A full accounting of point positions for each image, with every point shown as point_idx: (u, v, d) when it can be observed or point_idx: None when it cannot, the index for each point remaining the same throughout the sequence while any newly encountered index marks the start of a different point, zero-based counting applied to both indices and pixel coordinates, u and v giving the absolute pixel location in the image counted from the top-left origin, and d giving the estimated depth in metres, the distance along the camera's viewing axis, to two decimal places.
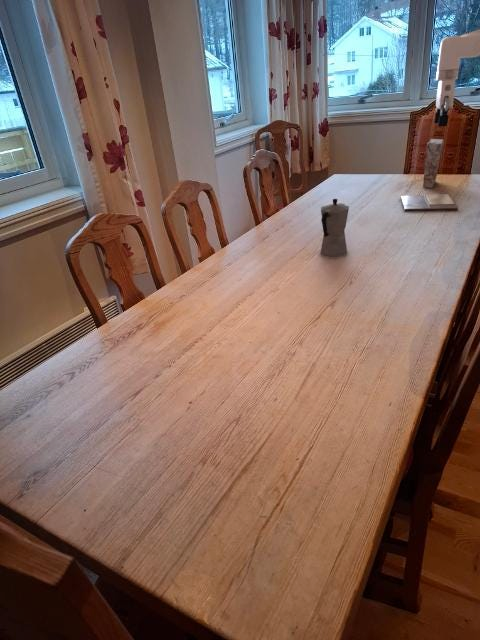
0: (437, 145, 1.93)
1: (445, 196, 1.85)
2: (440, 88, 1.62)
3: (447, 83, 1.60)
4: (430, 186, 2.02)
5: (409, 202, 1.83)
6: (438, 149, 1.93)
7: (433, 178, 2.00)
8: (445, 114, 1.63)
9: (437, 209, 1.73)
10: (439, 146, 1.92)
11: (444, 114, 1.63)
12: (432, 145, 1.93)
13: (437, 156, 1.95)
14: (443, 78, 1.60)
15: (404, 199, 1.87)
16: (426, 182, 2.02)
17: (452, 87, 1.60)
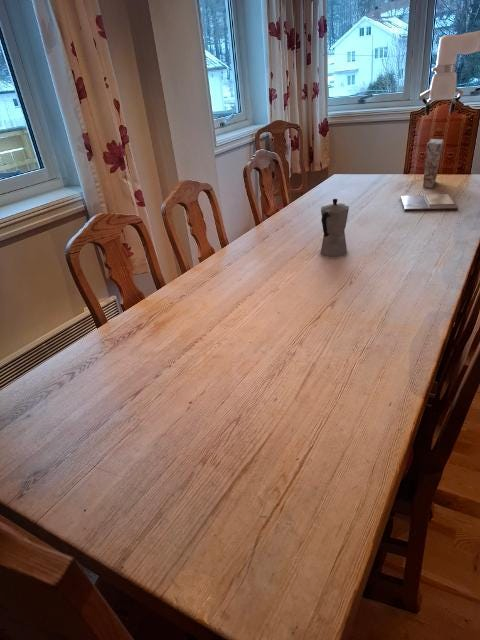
0: (437, 145, 1.93)
1: (445, 196, 1.85)
2: None
3: (432, 77, 1.84)
4: (430, 186, 2.02)
5: (409, 202, 1.83)
6: (438, 149, 1.93)
7: (433, 178, 2.00)
8: (425, 104, 1.89)
9: (437, 209, 1.73)
10: (439, 146, 1.92)
11: (425, 104, 1.90)
12: (432, 145, 1.93)
13: (437, 156, 1.95)
14: None
15: (404, 199, 1.87)
16: (426, 182, 2.02)
17: (432, 81, 1.83)
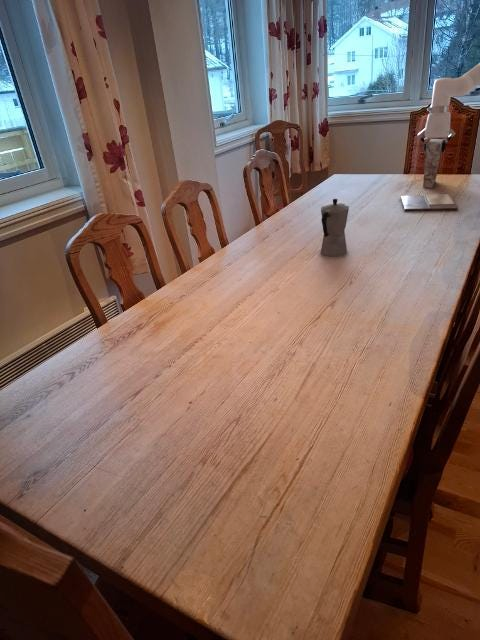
0: (437, 145, 1.93)
1: (445, 196, 1.85)
2: None
3: None
4: (430, 186, 2.02)
5: (409, 202, 1.83)
6: (438, 149, 1.93)
7: (433, 178, 2.00)
8: None
9: (437, 209, 1.73)
10: (439, 146, 1.92)
11: (423, 142, 1.99)
12: (432, 145, 1.94)
13: (437, 156, 1.95)
14: None
15: (404, 199, 1.87)
16: (426, 182, 2.02)
17: (427, 120, 1.93)
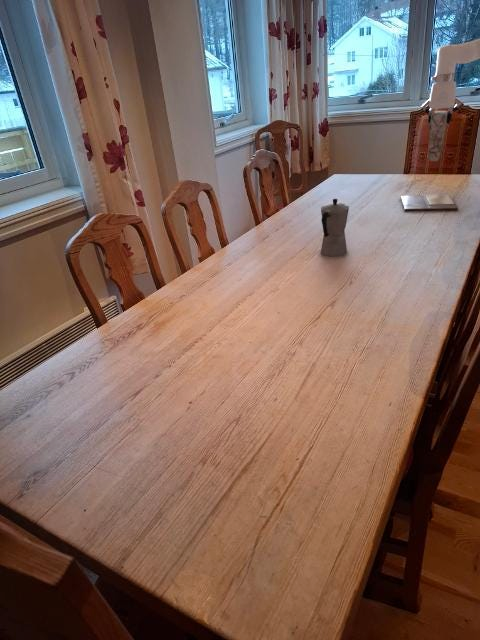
0: (442, 116, 1.86)
1: (445, 196, 1.85)
2: None
3: (432, 86, 1.87)
4: (435, 159, 1.95)
5: (409, 202, 1.83)
6: (443, 120, 1.86)
7: (438, 151, 1.93)
8: (428, 114, 1.92)
9: (437, 209, 1.73)
10: (444, 116, 1.86)
11: None
12: (436, 116, 1.87)
13: (442, 127, 1.88)
14: None
15: (404, 199, 1.87)
16: (431, 156, 1.95)
17: (431, 90, 1.86)
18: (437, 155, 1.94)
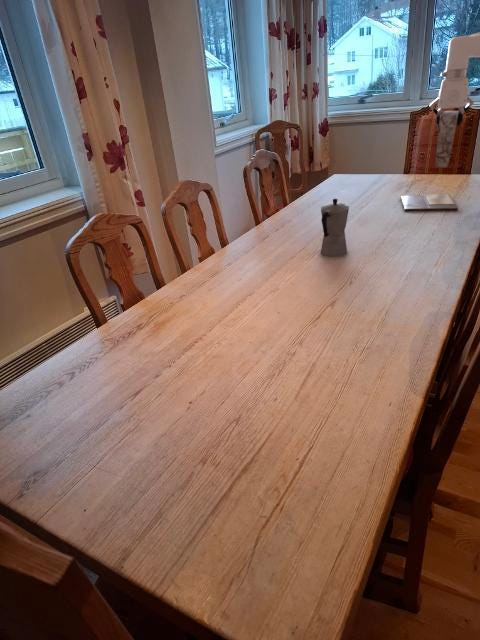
0: (452, 116, 1.65)
1: (445, 196, 1.85)
2: None
3: (441, 83, 1.66)
4: (444, 165, 1.75)
5: (409, 202, 1.83)
6: (453, 121, 1.66)
7: (447, 156, 1.72)
8: None
9: (437, 209, 1.73)
10: (454, 117, 1.65)
11: (436, 114, 1.72)
12: (446, 117, 1.66)
13: (452, 129, 1.67)
14: None
15: (404, 199, 1.87)
16: (439, 161, 1.75)
17: (441, 87, 1.65)
18: (446, 160, 1.73)
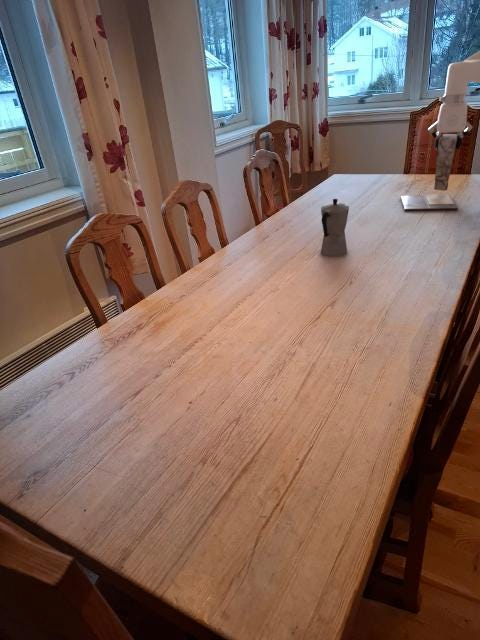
0: (451, 141, 1.65)
1: (445, 196, 1.85)
2: None
3: (440, 107, 1.66)
4: (442, 188, 1.75)
5: (409, 202, 1.83)
6: (452, 145, 1.66)
7: (446, 179, 1.72)
8: (435, 138, 1.71)
9: (437, 209, 1.73)
10: (453, 142, 1.65)
11: (435, 138, 1.72)
12: (445, 141, 1.66)
13: (451, 154, 1.67)
14: None
15: (404, 199, 1.87)
16: (438, 184, 1.75)
17: (440, 112, 1.65)
18: (445, 184, 1.73)
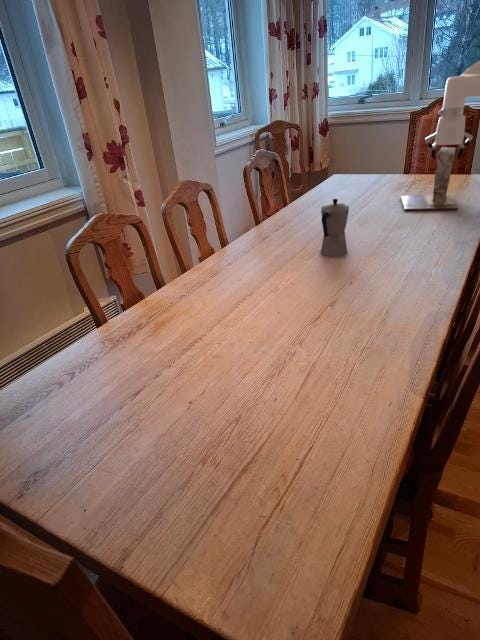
0: (449, 155, 1.68)
1: None
2: None
3: None
4: (441, 201, 1.77)
5: (409, 202, 1.83)
6: (450, 159, 1.68)
7: (444, 192, 1.75)
8: None
9: (437, 209, 1.73)
10: (452, 156, 1.67)
11: None
12: (443, 155, 1.69)
13: (449, 167, 1.70)
14: None
15: (404, 199, 1.87)
16: (436, 197, 1.77)
17: (438, 125, 1.68)
18: (443, 196, 1.76)
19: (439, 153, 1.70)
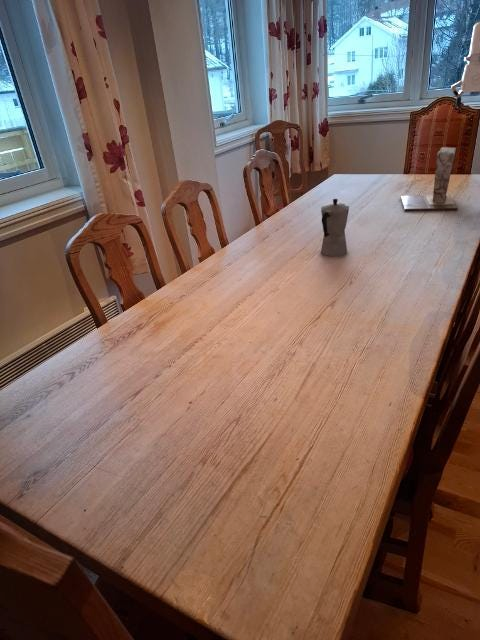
0: (449, 155, 1.68)
1: None
2: None
3: None
4: (441, 201, 1.77)
5: (409, 202, 1.83)
6: (450, 159, 1.68)
7: (444, 192, 1.75)
8: (456, 96, 1.77)
9: (437, 209, 1.73)
10: (452, 156, 1.67)
11: (456, 96, 1.77)
12: (443, 155, 1.69)
13: (449, 167, 1.70)
14: None
15: (404, 199, 1.87)
16: (436, 197, 1.77)
17: (464, 71, 1.71)
18: (443, 196, 1.76)
19: (439, 153, 1.70)
